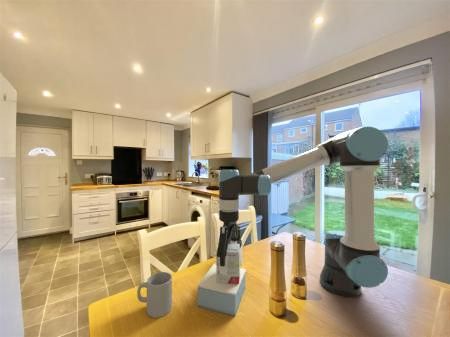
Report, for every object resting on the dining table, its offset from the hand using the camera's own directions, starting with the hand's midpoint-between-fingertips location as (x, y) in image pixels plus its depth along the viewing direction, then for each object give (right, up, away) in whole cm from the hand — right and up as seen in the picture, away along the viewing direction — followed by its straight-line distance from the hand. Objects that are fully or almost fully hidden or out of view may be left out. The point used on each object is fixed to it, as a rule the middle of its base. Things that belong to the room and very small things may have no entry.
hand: (228, 264), depth 74 cm
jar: (+3, -13, +26) cm, 30 cm away
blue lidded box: (-2, -13, +1) cm, 13 cm away
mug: (-27, -13, -6) cm, 30 cm away
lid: (-2, -6, +1) cm, 6 cm away
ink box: (0, -5, 0) cm, 5 cm away
